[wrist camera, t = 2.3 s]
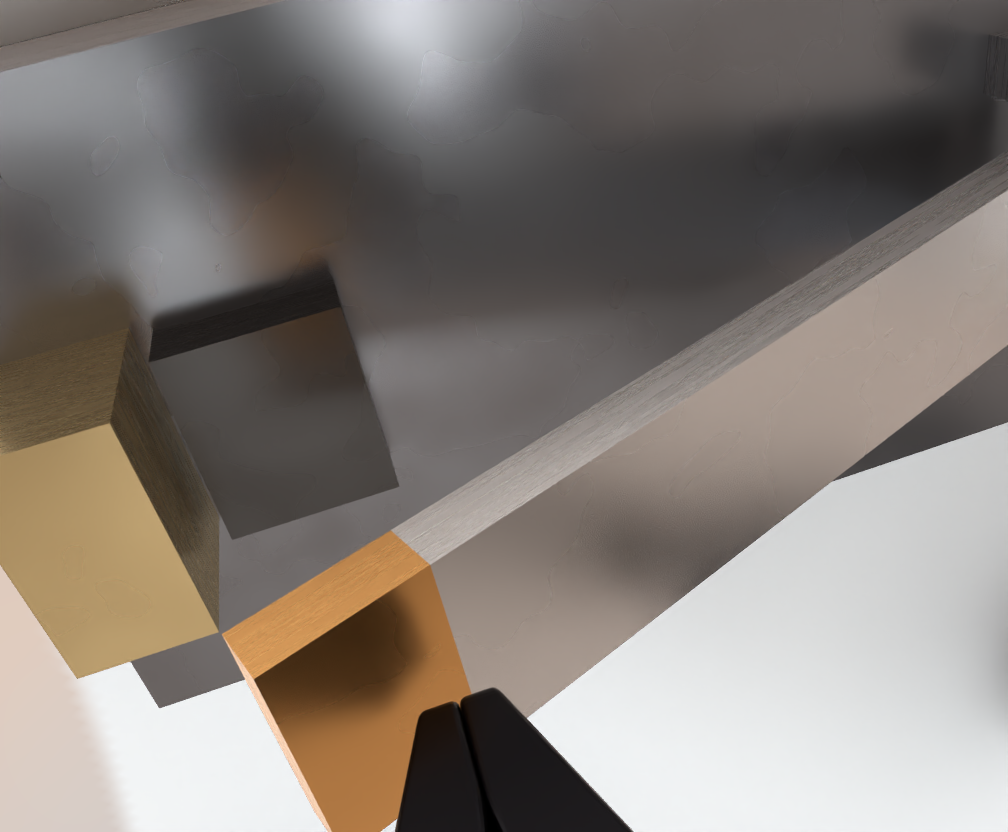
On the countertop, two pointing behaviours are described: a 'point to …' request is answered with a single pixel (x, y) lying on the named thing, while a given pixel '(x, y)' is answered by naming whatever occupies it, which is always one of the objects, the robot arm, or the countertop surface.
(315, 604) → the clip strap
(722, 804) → the countertop surface
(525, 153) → the grey lever base
